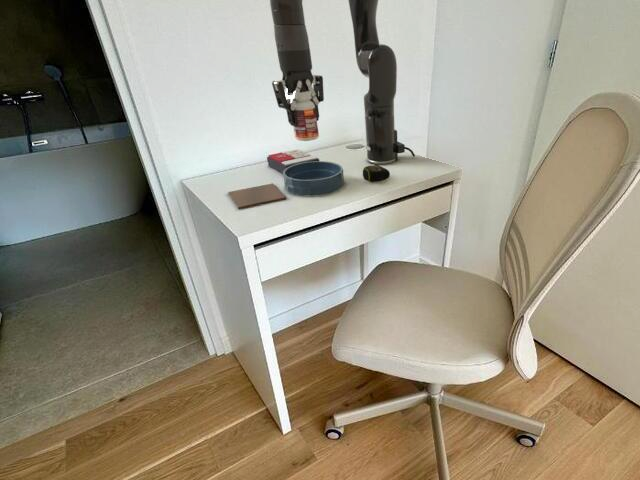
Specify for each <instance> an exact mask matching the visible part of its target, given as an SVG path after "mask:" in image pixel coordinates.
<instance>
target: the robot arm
mask: <svg viewBox="0 0 640 480" xmlns="http://www.w3.org/2000/svg"><path fill="white" fill-rule="evenodd" d="M347 1H348V6H349V13H350V17H351V22H352V29H353V40H354V50H355V51H354V52H355V59H356V60H355V61H356V65H357V68H358V70H359V72H360V74H361V75H362V76H363V77H365V78H366V79H368V90H367V92H366V93H365V94H364V95H363V111H364V124H365V125H364V127H365V141H366V145H365V149H366V161H367V163H369V164H372V165H389V164H390V165H391V164H393V163H395V162H396V161H399V155H398V154H403V153H404V154H405V151H408V152H410V153H411V156H412V157H413V158H415V156H416V155H415V152H414V151H413V150H412V149H411V148H409V147H407V146H406V145H405V144H404V143H402V142H400V141H398V130H397V129H395V128H396V127H395V125H396V124H395V98H396V94H397V84H398V83H397V79H398V74H397V73H398V66H397V65H398V64H397V57H396V53H395V51H394V50H393V48H392V47H390V46H389V45H387V44H383V43H380V39H379V34H378V33H379V32H378V28H377V12H378V11H377V10H378V5H379V0H347ZM269 6H270V12H271V18H272V23H273V33H274V34H273V35H274V41H275V47H276V53H277V58H278V64H279V69H280V71H281V73H282V77H281V78H282V79H281V80H272V81H271V85H272V88H273V93H274V96H275V99H276V103H277V106H278V108H280V109H283V110H285V111H286V115H287V121H288V123H289V125H290V126H291V127H293V126H298V121H297V115H296V110H295V105H296V101H298V97H299V92H305V91H311V97H312V98H311V99H310V101H312V102H313V103H314V105H315V111H316V119H317V122H318V121H319V119H320V112H319V104H320V103H321V102H324V101H325V95H324V77H323V75H320V74H314V75H313V73H312V70H313V63H312V54H311V47H310V40H309V34H308V30H307V26H306V20H305V19H306V18H305V11H304V5H303V0H269ZM290 93H293V96H290Z"/></svg>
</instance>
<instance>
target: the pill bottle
mask: <svg viewBox="0 0 640 480" xmlns="http://www.w3.org/2000/svg"><path fill="white" fill-rule="evenodd" d="M290 96H293V93H290ZM311 98H312V97H311V91H305V92H299V97H298V101H296V105H295V110H296V115H297V121H298V126H292V128H293V133H294V138H295V139H296V140H297V141H300V142H310V141H314V140H315V141H316V140H317V139H319V137H320V133H319V126H318V121H317V119H316V111H315V105H314V103H313V102H312V101H310V99H311Z"/></svg>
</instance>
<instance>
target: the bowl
mask: <svg viewBox="0 0 640 480" xmlns="http://www.w3.org/2000/svg"><path fill="white" fill-rule="evenodd" d="M282 177H283V182H284V188H285V190H286V191H287V192H288V193H290V194H293V195H295V196H296V195H297V196H302V197H303V196H305V197H314V196H315V197H316V196H323V195H328V194H331V193H334V192H337V191H339V190H341V189H342V188H344V185H345V175H344V168H343V166H342V165H340V164H339V163H336V162H332V161H325V160H324V161H323V160H319V161H313V162H304V163H299V164H295V165H292V166H290V167H288V168H286V169H285V170H284V171H283V174H282Z"/></svg>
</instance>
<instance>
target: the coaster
mask: <svg viewBox="0 0 640 480" xmlns="http://www.w3.org/2000/svg"><path fill="white" fill-rule="evenodd" d="M227 193H228V195H229V197H230V199H231V200H232V201H233V203H234V204H235V205H236V207H237V209H238V210H242V209H243V210H244V209H247V208H251V207H256V206H261V205H266V204H270V203H275V202H279V201H284V200H287V197H286V195H284V194H283V192H282V191H281V190H280V189H279V188H278V187H277V186H275V184H274V183H273V182H272V183H267V184H263V185H262V184H261V185H256V186H252V187H247V188H242V189H237V190H233V191H228V192H227Z"/></svg>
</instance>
